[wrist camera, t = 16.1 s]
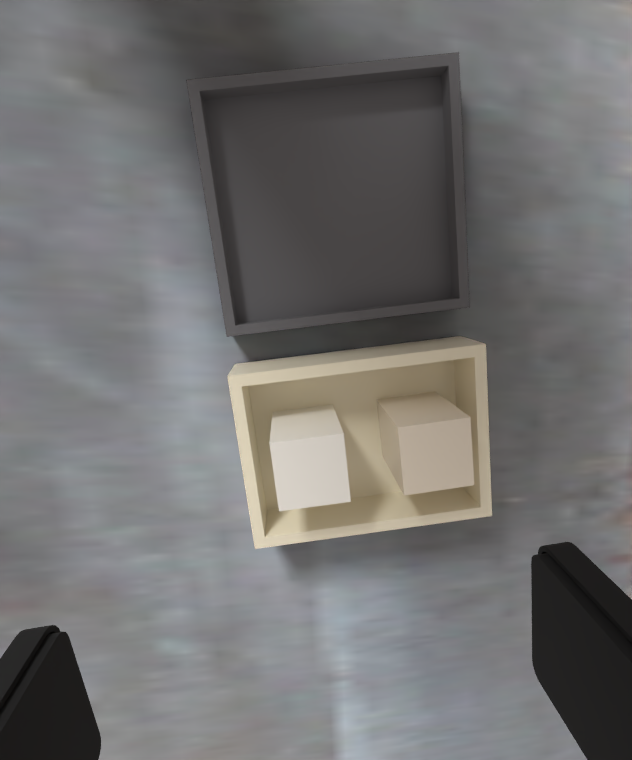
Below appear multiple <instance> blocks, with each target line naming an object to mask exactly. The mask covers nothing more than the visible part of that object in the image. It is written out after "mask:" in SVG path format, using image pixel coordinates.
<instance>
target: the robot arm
mask: <svg viewBox="0 0 632 760" xmlns="http://www.w3.org/2000/svg"><path fill="white" fill-rule="evenodd" d="M531 568H532V661H533V667H534V670H535V673H536V676H537V678H538V680H539V682H540V684H541V685H542V687H543V689H544V690H545V692H546V693H547V695H548V697H549V698H550V700H551V702H552V703H553V705H554V706H555V708H556V710H557V711H558V713H559V714H560V716H561V718H562V719H563V721H564V723H565V724H566V726H567V727H568V729H569V731H570V732H571V734H572V735H573V737H574V739H575V740H576V742H577V744H578V745H579V747H580V748H581V750H582V752H583V753H584V755H585V756H586V758H587V760H632V600H631V599H630V598H629V597H628V596H627V595H626V594H625V593H624V592H623V591H622V590H621V589H620V588H619V587H618V586H617V585H616V584H615V583H614V582H613V581H612V580H611V579H610V578H608V577H607V576H606V575H605V574H604V573H603V572H602V571H601V570H600V569H599V568H598V567H597V566H596V565H595V564H594V563H593V562H592V561H591V560H590V559H589V558H588V557H587V556H586V555H584V554H583V553H582V552H581V551H580V550H579V549H578V548H577V547H576V546H575V545H574V544H572V543H570V542H564V543H558V544H551V545H545V546H541V547H540V548H539V550H538V555H534V556H533V557H532V561H531ZM100 749H101V737H100V733H99V729H98V726H97V723H96V720H95V717H94V714H93V711H92V708H91V704H90V701H89V698H88V695H87V692H86V689H85V686H84V683H83V679H82V676H81V673H80V670H79V667H78V664H77V661H76V658H75V654H74V651H73V648H72V645H71V642H70V639H69V636H68V634H67V633H66V632H60V630H59V628H58V627H57V626H55V625H51V626H44V627H38V628H32V629H26V630H23V631H21V632H20V633H19V634H18V635H17V636H16V637H15V639H14V640H13V641H12V643H11V644H10V646H9V647H8V649H7V650H6V651H5V653H4V654H3V656H2V657H1V659H0V760H98V759H99V755H100Z"/></svg>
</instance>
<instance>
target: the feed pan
mask: <svg viewBox="0 0 632 760" xmlns="http://www.w3.org/2000/svg"><path fill="white" fill-rule="evenodd" d="M186 81H187V87H188V93H189V100H190V106H191V113H192V119H193V125H194V132H195V138H196V144H197V151H198V157H199V163H200V170H201V176H202V182H203V189H204V195H205V202H206V208H207V214H208V221H209V227H210V233H211V240H212V246H213V252H214V259H215V265H216V271H217V278H218V284H219V291H220V297H221V303H222V310H223V316H224V322H225V329H226V335H227V337H229V336H237V335H245V334H253V333H262V332H270V331H278V330H286V329H294V328H303V327H311V326H319V325H327V324H336V323H344V322H352V321H360V320H368V319H377V318H385V317H393V316H401V315H409V314H418V313H426V312H434V311H442V310H451V309H459V308H467V307H470V302H469V279H468V255H467V232H466V208H465V185H464V161H463V138H462V114H461V91H460V67H459V52H458V53H448V54H438V55H428V56H418V57H408V58H398V59H388V60H378V61H368V62H358V63H348V64H338V65H328V66H318V67H308V68H298V69H289V70H279V71H269V72H259V73H249V74H239V75H229V76H219V77H209V78H199V79H189V80H186Z"/></svg>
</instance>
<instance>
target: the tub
mask: <svg viewBox="0 0 632 760" xmlns="http://www.w3.org/2000/svg"><path fill="white" fill-rule="evenodd" d="M227 377H228V383H229V389H230V395H231V402H232V408H233V414H234V420H235V427H236V433H237V439H238V445H239V452H240V458H241V464H242V471H243V477H244V483H245V489H246V496H247V502H248V508H249V514H250V521H251V527H252V533H253V539H254V546H255V549H259V548H266V547H273V546H280V545H287V544H295V543H302V542H309V541H316V540H323V539H330V538H338V537H345V536H352V535H359V534H366V533H374V532H381V531H388V530H395V529H402V528H409V527H417V526H424V525H431V524H438V523H445V522H453V521H460V520H467V519H474V518H481V517H488V516H492V501H491V473H490V445H489V417H488V389H487V361H486V344H485V343H481V342H478V341H475V340H472V339H469V338H466V337H462V336H456V337H447V338H439V339H431V340H423V341H415V342H407V343H399V344H391V345H383V346H375V347H367V348H359V349H351V350H343V351H335V352H327V353H318V354H310V355H302V356H294V357H286V358H278V359H270V360H262V361H254V362H246V363H238V364H235V365H234V366H233V368H232V370H231V371H230V373H229V374H228V376H227ZM435 391H436V392H437V393H438V394H440V395H441V396H442V397H444V398H445V399H447V400H448V401H449V402H451V403H452V404H453V405H455V406H456V407H457V408H459V409H460V410H461V411H463V412H464V413H465V414H467V415H468V416H469V417H471V435H472V452H473V469H474V485H472V486H465V487H459V488H452V489H445V490H439V491H432V492H425V493H418V494H412V495H405V496H404V494H403V493H402V491H401V489H400V487H399V485H398V484H397V482H396V480H395V478H394V476H393V474H392V473H391V471H390V469H389V467H388V465H387V464H386V462H385V460H384V458H383V456H382V448H381V438H380V429H379V419H378V409H377V400H378V399H385V398H392V397H399V396H406V395H413V394H420V393H428V392H435ZM331 404H333V406H334V409H335V412H336V414H337V417H338V420H339V422H340V425H341V428H342V430H343V433H344V441H345V450H346V460H347V469H348V479H349V489H350V498H351V502H345V503H338V504H330V505H323V506H315V507H308V508H300V509H293V510H286V511H279V507H278V500H277V493H276V486H275V479H274V472H273V465H272V458H271V451H270V444H269V442H270V432H271V422H272V412H276V411H283V410H291V409H299V408H307V407H315V406H323V405H331Z"/></svg>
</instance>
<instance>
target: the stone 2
mask: <svg viewBox="0 0 632 760" xmlns="http://www.w3.org/2000/svg"><path fill="white" fill-rule="evenodd" d="M377 409H378V419H379V429H380V438H381V448H382V456H383V458H384V460H385V462H386V464H387V465H388V467H389V469H390V471H391V473H392V474H393V476H394V478H395V480H396V482H397V484H398V485H399V487H400V489H401V491H402V493H403V494H404V496H405V495H412V494H418V493H425V492H432V491H439V490H445V489H452V488H459V487H465V486H472V485H474V469H473V452H472V435H471V417H469V416H468V415H467V414H465V413H464V412H463V411H461V410H460V409H459V408H457V407H456V406H455V405H453V404H452V403H451V402H449V401H448V400H447V399H445V398H444V397H442V396H441V395H440V394H438V393H437V392H436V391H435V392H428V393H420V394H413V395H406V396H399V397H392V398H385V399H378V400H377Z"/></svg>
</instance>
